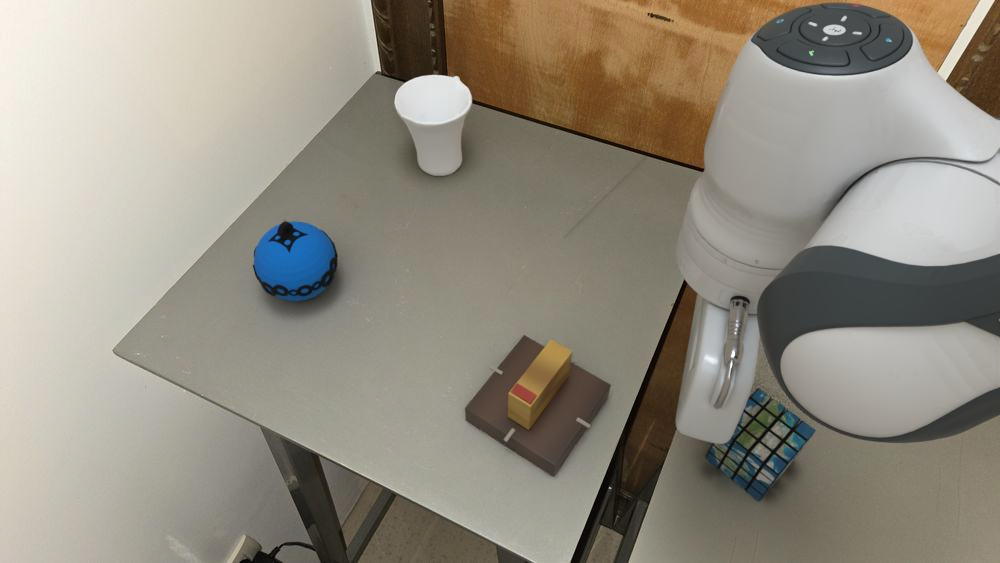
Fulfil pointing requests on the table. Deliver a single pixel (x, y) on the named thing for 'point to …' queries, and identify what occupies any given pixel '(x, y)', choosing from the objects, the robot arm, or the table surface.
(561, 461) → the stamp base
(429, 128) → the cup
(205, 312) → the table surface
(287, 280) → the ornament
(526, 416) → the stamp
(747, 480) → the puzzle
